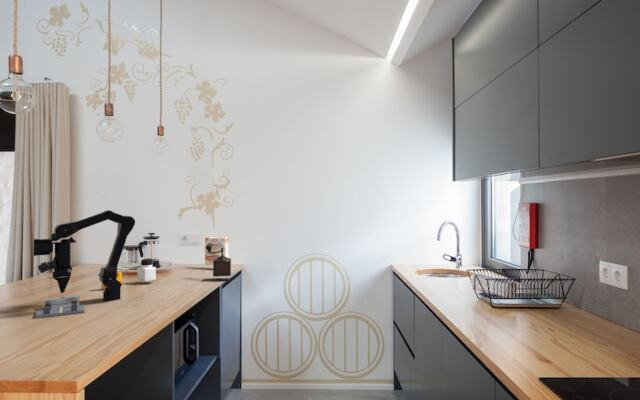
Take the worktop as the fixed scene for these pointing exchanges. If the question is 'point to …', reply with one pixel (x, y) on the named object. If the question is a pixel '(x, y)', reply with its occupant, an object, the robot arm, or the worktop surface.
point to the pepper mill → (220, 264)
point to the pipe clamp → (119, 278)
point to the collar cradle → (59, 310)
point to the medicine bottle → (146, 271)
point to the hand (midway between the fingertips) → (62, 290)
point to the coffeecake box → (216, 248)
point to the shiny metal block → (62, 301)
